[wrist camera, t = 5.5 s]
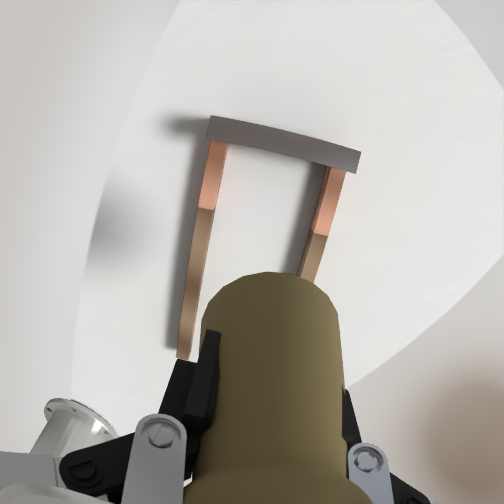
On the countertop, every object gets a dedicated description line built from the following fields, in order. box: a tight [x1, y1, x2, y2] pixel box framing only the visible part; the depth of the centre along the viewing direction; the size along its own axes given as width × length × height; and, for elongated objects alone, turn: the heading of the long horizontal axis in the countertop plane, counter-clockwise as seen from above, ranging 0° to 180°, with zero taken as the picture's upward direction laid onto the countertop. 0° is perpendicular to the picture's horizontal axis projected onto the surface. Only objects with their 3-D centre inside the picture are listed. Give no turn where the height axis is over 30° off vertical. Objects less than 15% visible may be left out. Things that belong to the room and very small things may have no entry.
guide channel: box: [176, 115, 361, 360], centre depth 26 cm, size 22×10×4 cm, turn 168°
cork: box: [182, 272, 373, 504], centre depth 8 cm, size 6×6×11 cm
